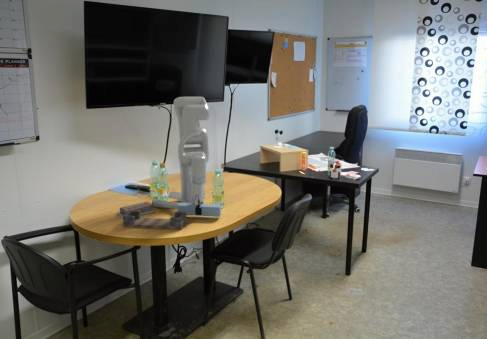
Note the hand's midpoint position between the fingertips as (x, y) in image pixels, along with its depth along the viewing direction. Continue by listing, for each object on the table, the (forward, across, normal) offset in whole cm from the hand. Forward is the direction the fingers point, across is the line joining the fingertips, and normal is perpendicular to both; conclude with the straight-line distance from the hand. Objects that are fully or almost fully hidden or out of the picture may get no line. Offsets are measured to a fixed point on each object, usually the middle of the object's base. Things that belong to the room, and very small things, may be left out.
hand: (199, 212), depth 221 cm
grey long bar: (+3, -9, -18) cm, 20 cm away
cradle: (+2, +13, -20) cm, 24 cm away
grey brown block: (+4, -3, -35) cm, 35 cm away
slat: (+1, 0, 0) cm, 1 cm away
